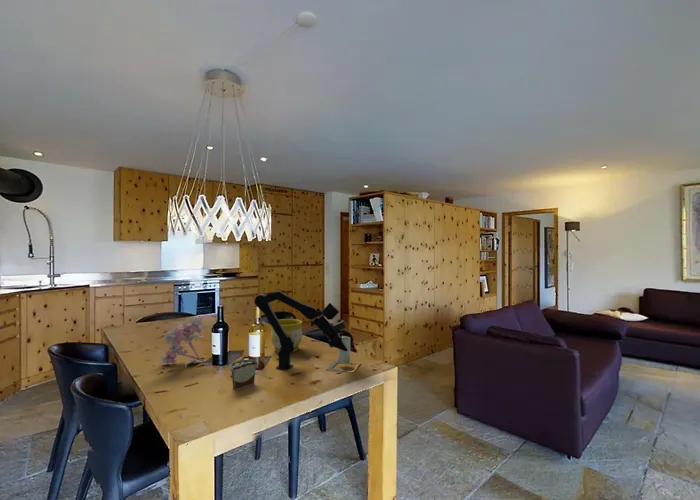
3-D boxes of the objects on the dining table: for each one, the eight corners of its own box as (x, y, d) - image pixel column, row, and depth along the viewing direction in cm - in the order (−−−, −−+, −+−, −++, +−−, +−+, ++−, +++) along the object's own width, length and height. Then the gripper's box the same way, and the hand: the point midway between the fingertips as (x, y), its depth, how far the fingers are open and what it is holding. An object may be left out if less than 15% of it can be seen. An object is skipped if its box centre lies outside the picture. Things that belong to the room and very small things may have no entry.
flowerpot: (264, 352, 202) (264, 323, 202) (283, 344, 218) (283, 317, 218) (290, 356, 194) (290, 326, 194) (308, 348, 210) (308, 320, 210)
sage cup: (348, 364, 173) (348, 339, 173) (336, 363, 175) (336, 338, 175) (351, 360, 179) (351, 336, 179) (340, 359, 180) (340, 335, 180)
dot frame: (354, 373, 168) (354, 372, 168) (326, 370, 172) (326, 369, 172) (361, 364, 182) (361, 363, 182) (334, 361, 185) (334, 360, 185)
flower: (194, 350, 198) (173, 313, 190) (221, 352, 186) (200, 312, 178) (164, 376, 182) (140, 336, 174) (191, 380, 170) (167, 338, 162)
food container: (248, 379, 159) (248, 357, 159) (257, 382, 155) (257, 359, 155) (223, 387, 150) (223, 363, 150) (231, 391, 146) (232, 367, 146)
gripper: (335, 318, 167) (359, 342, 167) (337, 311, 186) (358, 333, 186) (318, 335, 167) (342, 359, 167) (322, 326, 186) (343, 348, 186)
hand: (347, 348), depth 177 cm, fingers closed on sage cup, 6 cm apart
